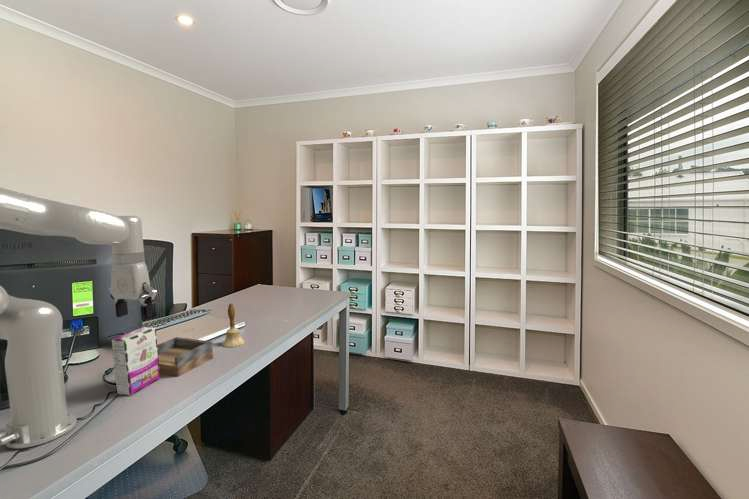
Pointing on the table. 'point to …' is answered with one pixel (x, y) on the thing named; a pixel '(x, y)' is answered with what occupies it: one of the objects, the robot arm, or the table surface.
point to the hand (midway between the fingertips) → (134, 317)
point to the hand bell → (232, 331)
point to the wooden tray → (183, 355)
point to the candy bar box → (135, 360)
